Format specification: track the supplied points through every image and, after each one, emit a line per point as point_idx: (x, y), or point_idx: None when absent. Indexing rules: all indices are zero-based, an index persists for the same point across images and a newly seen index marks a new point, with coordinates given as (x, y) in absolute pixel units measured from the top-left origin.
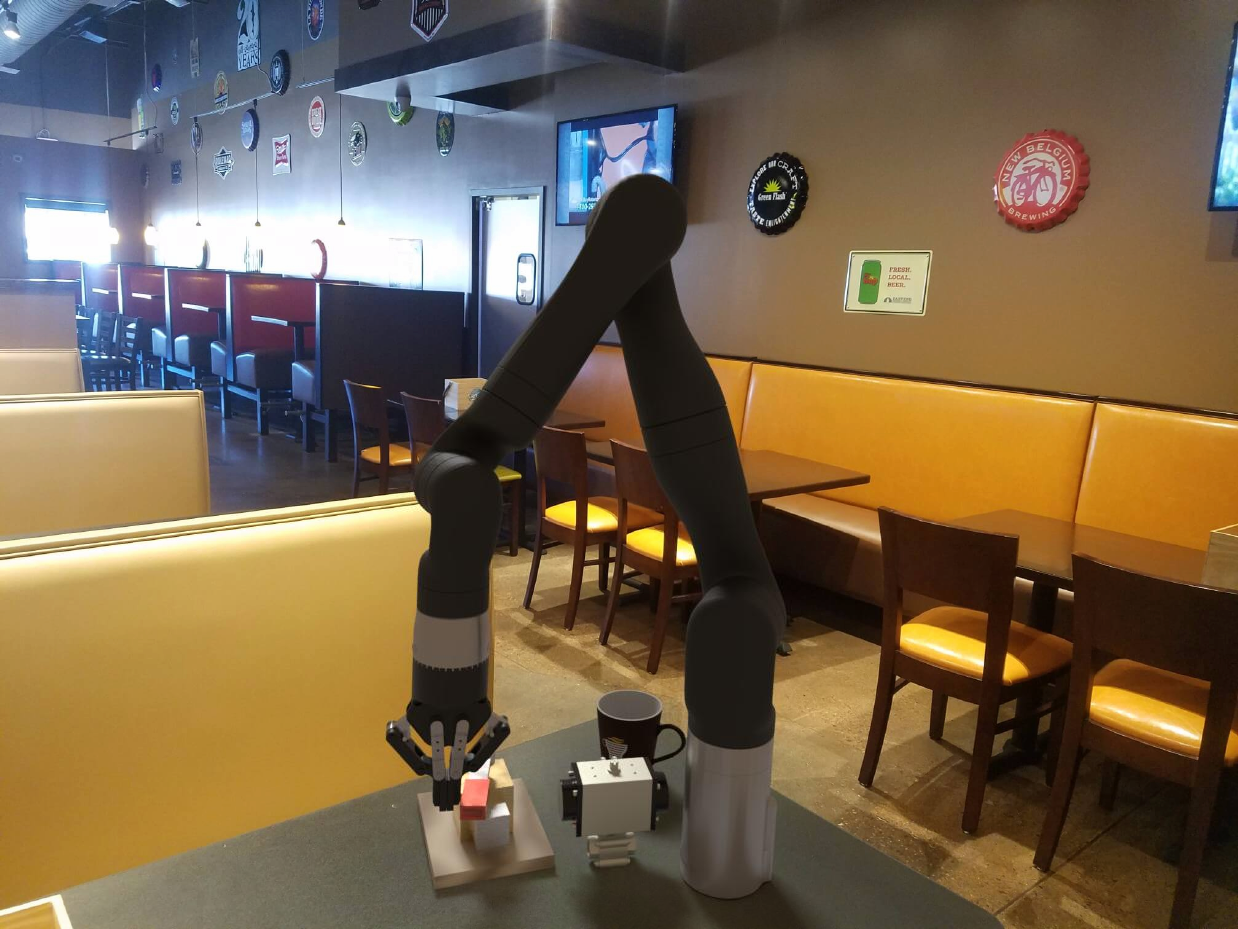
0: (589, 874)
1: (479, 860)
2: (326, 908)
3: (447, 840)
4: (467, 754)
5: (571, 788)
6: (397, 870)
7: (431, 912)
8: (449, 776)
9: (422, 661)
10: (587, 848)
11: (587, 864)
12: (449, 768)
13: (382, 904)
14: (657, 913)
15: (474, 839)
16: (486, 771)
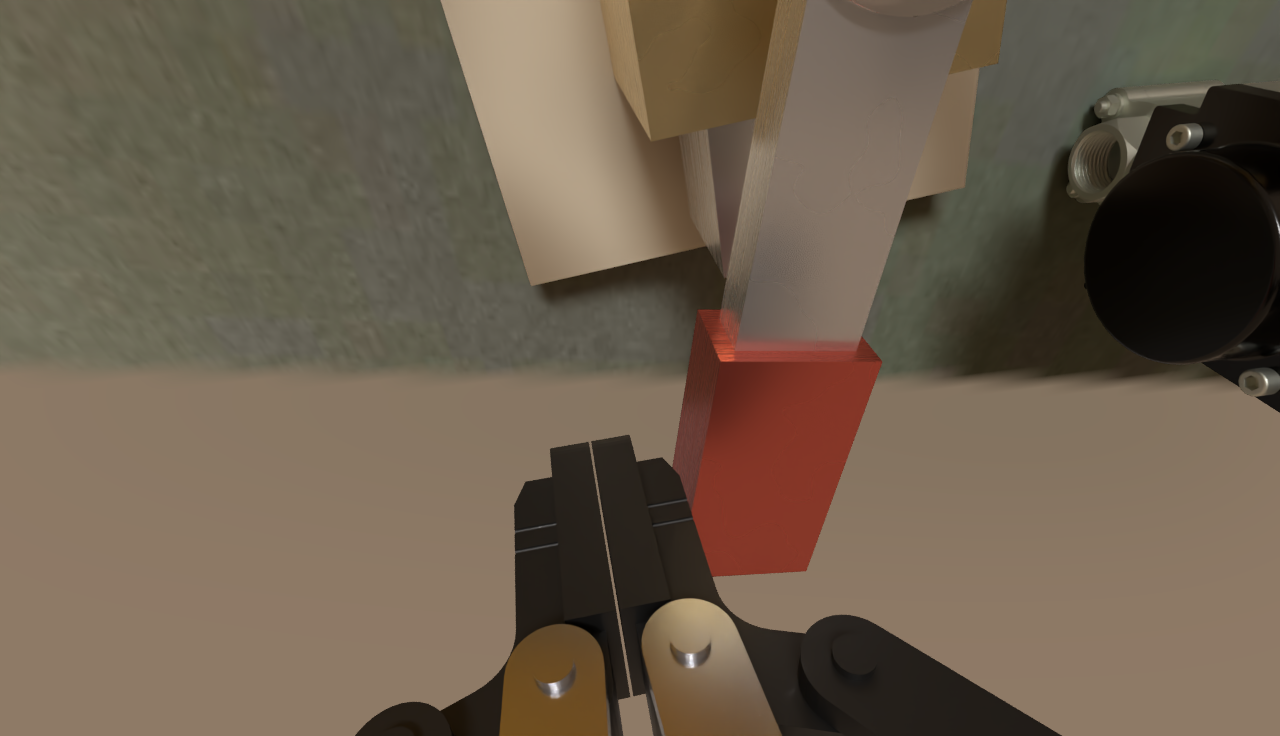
0: (1029, 213)
1: None
2: (184, 332)
3: (553, 52)
4: (816, 734)
5: (1274, 345)
6: (364, 149)
7: (537, 354)
8: (642, 671)
9: None
10: (1091, 133)
11: (1047, 162)
12: (648, 699)
13: (371, 320)
14: (1111, 367)
15: (686, 170)
16: (882, 234)
